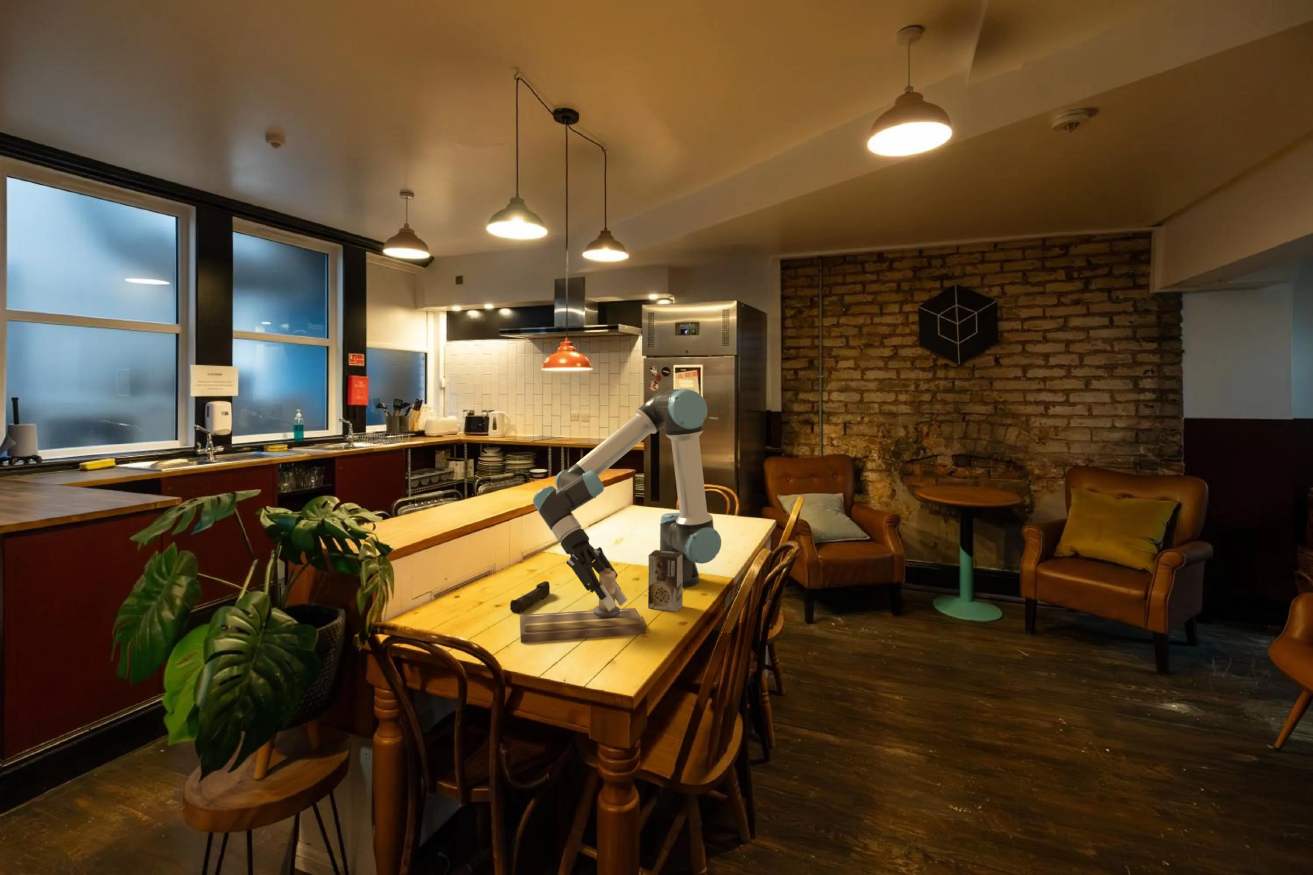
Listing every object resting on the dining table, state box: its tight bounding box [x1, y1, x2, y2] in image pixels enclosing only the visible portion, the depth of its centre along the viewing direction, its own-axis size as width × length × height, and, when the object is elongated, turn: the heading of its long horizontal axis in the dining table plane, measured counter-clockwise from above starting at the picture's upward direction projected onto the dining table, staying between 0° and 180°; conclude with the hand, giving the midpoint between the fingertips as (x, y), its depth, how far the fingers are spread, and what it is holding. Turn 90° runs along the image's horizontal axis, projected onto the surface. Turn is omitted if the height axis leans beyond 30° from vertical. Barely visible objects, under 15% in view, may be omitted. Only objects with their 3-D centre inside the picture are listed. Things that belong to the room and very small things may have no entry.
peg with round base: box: [593, 568, 621, 618], centre depth 167 cm, size 7×7×12 cm
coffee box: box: [647, 549, 684, 613], centre depth 182 cm, size 9×6×16 cm
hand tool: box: [509, 580, 551, 614], centre depth 184 cm, size 19×4×5 cm, turn 157°
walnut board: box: [519, 607, 647, 643], centre depth 165 cm, size 32×14×4 cm, turn 103°
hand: (618, 605), depth 165 cm, fingers closed on peg with round base, 4 cm apart
